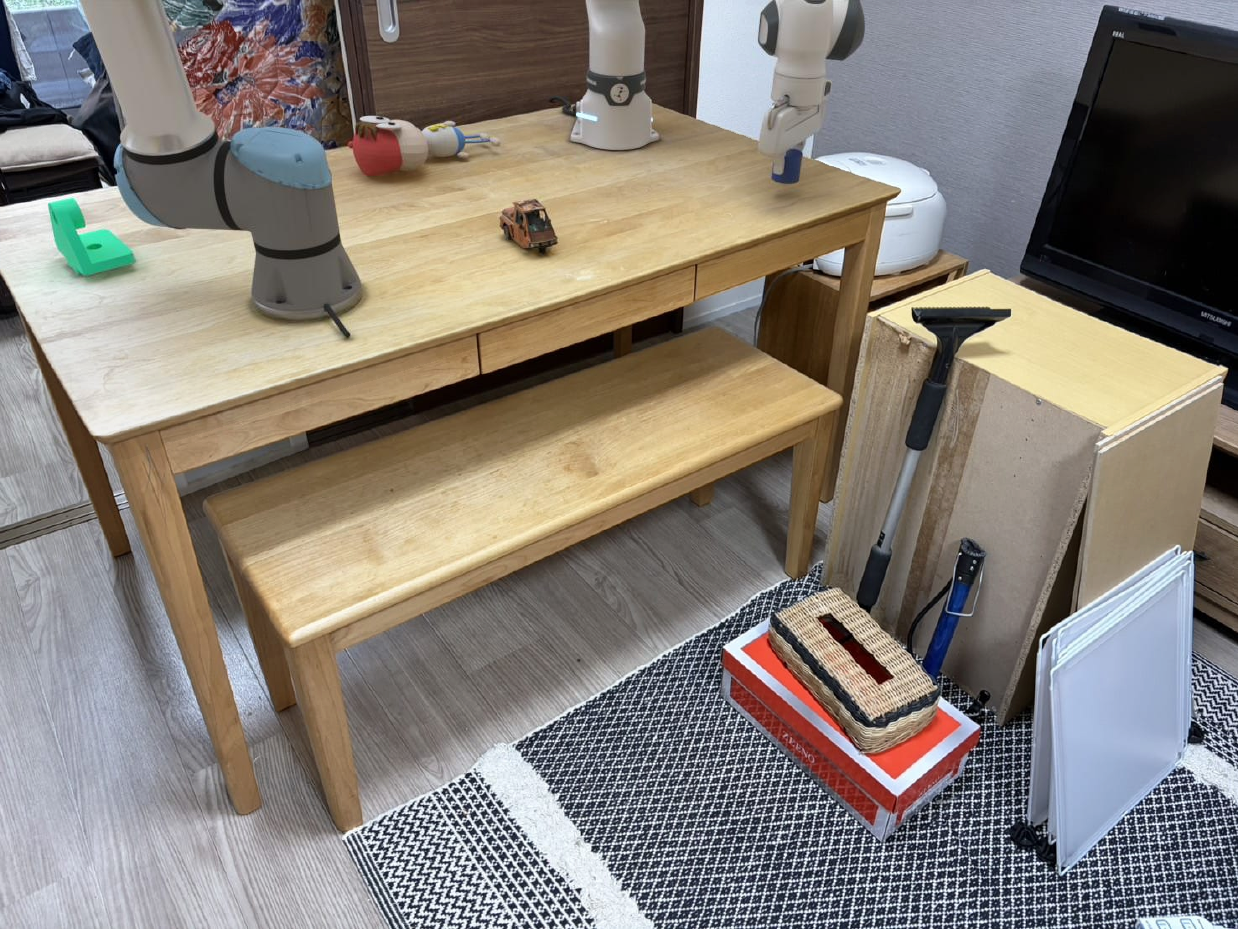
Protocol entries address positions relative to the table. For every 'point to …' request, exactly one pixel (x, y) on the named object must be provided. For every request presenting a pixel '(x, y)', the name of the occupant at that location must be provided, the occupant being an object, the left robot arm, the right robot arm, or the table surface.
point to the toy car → (528, 225)
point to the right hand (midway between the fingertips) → (786, 168)
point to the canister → (790, 168)
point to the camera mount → (85, 241)
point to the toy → (405, 144)
